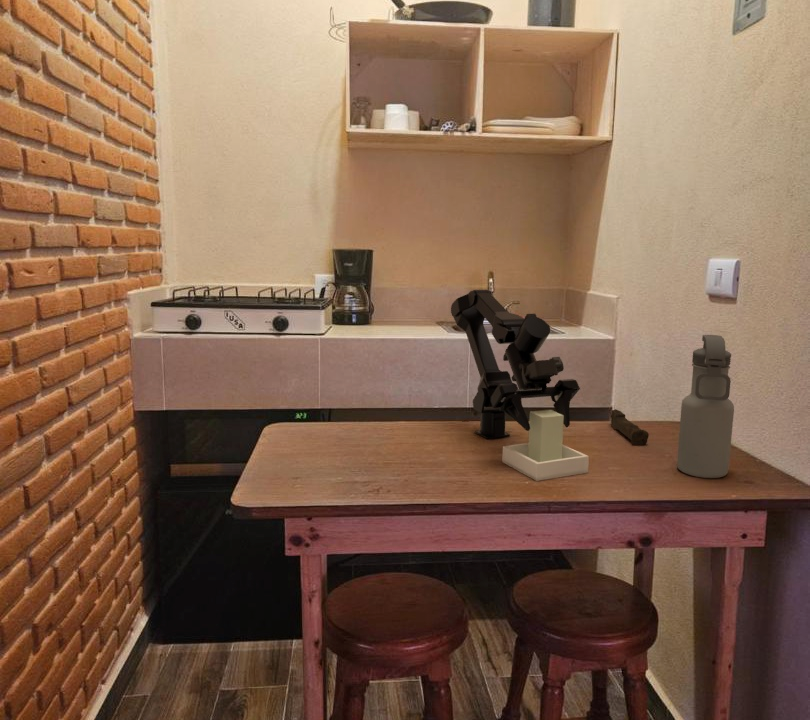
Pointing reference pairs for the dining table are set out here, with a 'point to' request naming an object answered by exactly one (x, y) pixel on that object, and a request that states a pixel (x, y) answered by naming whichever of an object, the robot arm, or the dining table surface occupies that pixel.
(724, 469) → the water bottle
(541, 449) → the pale green tall block
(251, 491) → the dining table surface
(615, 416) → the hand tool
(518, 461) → the box
